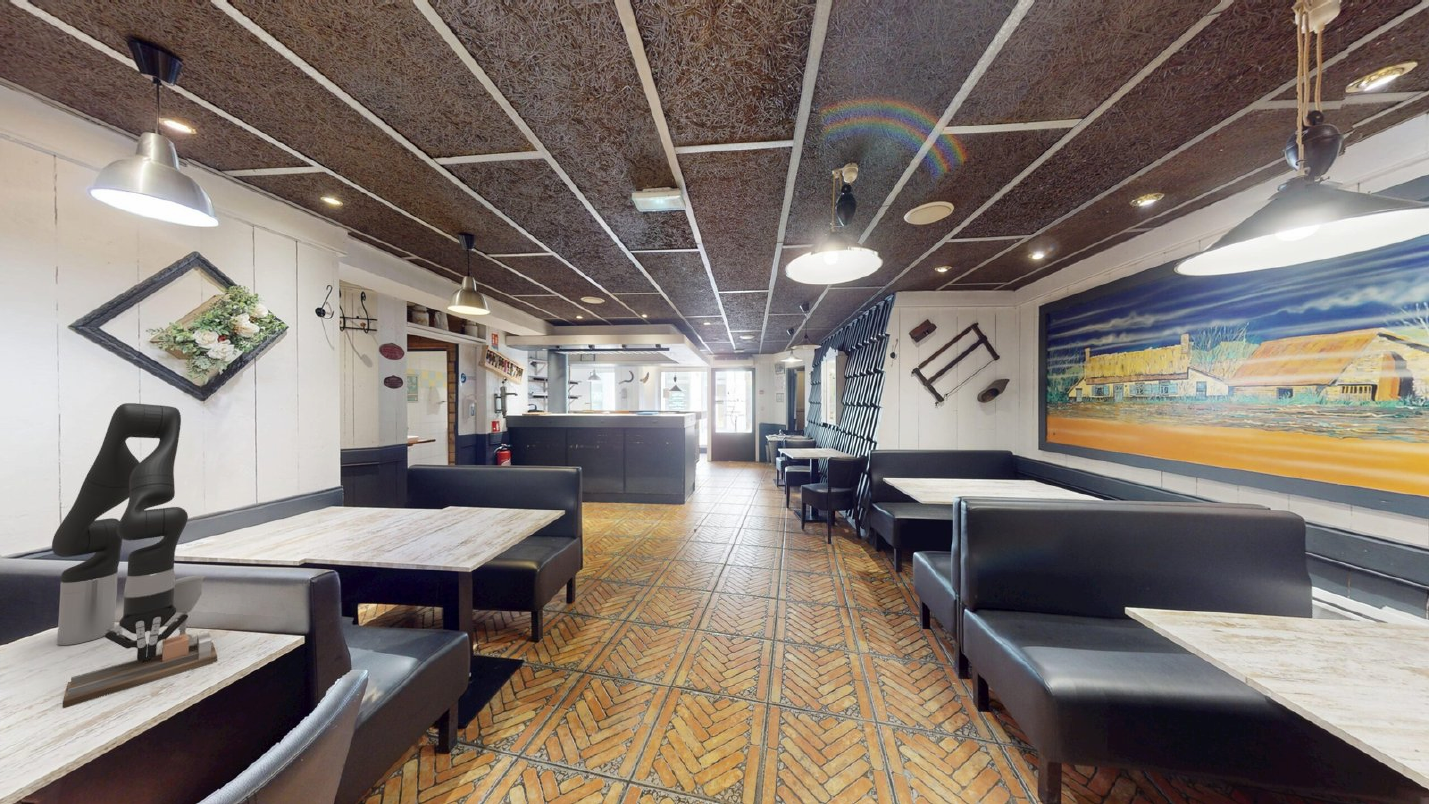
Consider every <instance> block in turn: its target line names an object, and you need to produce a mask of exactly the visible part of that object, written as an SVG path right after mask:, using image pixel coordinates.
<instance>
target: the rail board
mask: <svg viewBox="0 0 1429 804" xmlns="http://www.w3.org/2000/svg"><path fill="white" fill-rule="evenodd" d="M216 661H217V662H218V654H217V650H216V647H215V643H214V642H212V638H211V634H210V631H209V630H205V631H201V632H198V633H197V632H196V643H195V644H192V645H189V651H188V655H186V656H182V657H179V658H175V659H171V660H168V661H164V662H162V652H159V653H156V655H155V657H152V658H151V660H150V661H147V658H146V662H142V660H141V661H138V660H137V659H134V660H130V661H126V662H123V663H119V664H116V665H111V666H108V667H104V668H101V669H97V670H93V671H89V672H86V673H85V672H84V673H82V674H78V675H74V676H71V678H70V681H68V682H67V684H66V687H65V692H64V695H63V699H62V709H65V708H68V707H71V706H75V705H77V704H78V705H79V704H81V703H84V702H85V703H86V702H88V701H92V700H94V699H98V698H101V696H102V697H104V695H105V696H108V695H111V694H114V693H117V692H120V691H121V690H122V691H125V690H128V689H130V688H134V686H135V687H139V686H142V685H144V684H147V683H152V682H154V681H159V680H160V679H164V677H165V678H167V677H171V676H175V675H177V674H182V673H185V672H187V670H188V671H191V670H194V669H198V668H201V667H204V665H205V666H207V664H208V665H211V664H214V663H213V662H215V663H217V662H216ZM210 663H211V664H210ZM197 667H198V668H197ZM190 669H191V670H190ZM184 671H185V672H184ZM122 691H121V692H122ZM107 694H108V695H107Z"/></svg>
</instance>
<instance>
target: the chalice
mask: <svg viewBox="0 0 1429 804" xmlns="http://www.w3.org/2000/svg"><path fill="white" fill-rule="evenodd" d="M205 577H206V576H205V575H201V574H199V575H198V574H197V575H188V576H186V577H185V576H184V577H180V578H175V587H174V607H175V608H176V611H177V612H181V613H184V612H187V613H190V612H192V610H193V609H194V608H195V606H196V604H197V603H198V601H199V600H200V597H201V596H202V588H203V587H202V586H203V580H204V578H205ZM187 621H188V618H187V619H186V620H185V621H184V622H183V623H182V624H181V625H180V626H179V627H178V628H177V630H179V634H178V636H180V635H184V634H187V633H186V630H187V628H188V625H187ZM188 637H189V645H192V644H196V642H197V640H195V638H194V637H193V635H192V634H188Z"/></svg>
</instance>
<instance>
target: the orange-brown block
mask: <svg viewBox="0 0 1429 804" xmlns="http://www.w3.org/2000/svg"><path fill="white" fill-rule="evenodd" d="M188 635H189V634H188V633H186V634H184V635H180V636H179V635H176V636H173V637H168V638H167V639H164V640H162V649H161V653H162V662H164V661H168V660H171V659H175V658H179V657H182V656H186V655H188V651H189V637H188Z"/></svg>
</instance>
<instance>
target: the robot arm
mask: <svg viewBox="0 0 1429 804" xmlns="http://www.w3.org/2000/svg"><path fill="white" fill-rule="evenodd" d="M181 426H182V415H181V413H180V410H179V409H178V408H177V407H174V406H168V405H161V404H160V405H158V404H149V403H147V404H146V403H137V402H136V403H134V402H132V403H131V402H128V403H122V404H120V405H119V406H118V407H116V409H115V410H114V412H113V414H112V416H111V418H110V422H109V423H108V427H107V430H106V433H105V436H104V439H103V442H102V444H101V447H100V449H99V451H98V453H97V456H96V458H95V460H94V462H93V463H92V465H91V467H90V468H89V471H88V472H87V474H86V476H85V478H84V480H83V482H82V485H81V488H80V489H79V492H78V495H77V497H76V499H75V502H74V503H73V505H72V507H71V508H70V510H69V512H68V513H67V514H66V516H65V517H64V519H63V520H62V521H61V523H60V525H59V526H58V527H57V530H56V531H55V533H54V536H53V538H52V540H51V549H52V553H53V554H54V555H55V556H57V557H60V558H69V557H70V558H71V557H78V556H84V555H89V554H93V553H94V554H93V555H92V556H91V557H89V558H88V559H87V560H84V561H82V562H80V563H78V564H76V565H73V566H71V567H69V568H67V569H65V570H63V572H61V575H60V591H59V592H60V593H59V609H58V625H57V626H58V628H57V640H56V642H57V643H56V644H57V645H58V646H71V645H76V644H81V643H86V642H90V641H94V640H97V639H100V638H103V637H104V638H105V639H106V640H110V641H111V642H114V643H115V644H117V645H119V646H121V647H123V648H124V649H127V650H128V649H131V648H132V649H133V648H135V649H137V652H136V654H137V655H136V660H138V661H141V660H142V662H146V658H147V661H150V660H151V658H152V657H155V655H156V654H157V649H158V648H157V647H158V645H157V644H158V643H159V642H161V641H163V640H164V639H168V638H170V636H171V635H172V634H173V633H174V632H175V631H176V630H178V628H179V627H180V625H181V624H182V623H183V622H184V621H185V620H186V619H187V620H188V618H189V614H188V613H189V612H188V613H187V612H184V613H181V612H177V611H176V608H175V607H174V587H175V579H176V573H175V555H176V554H175V553H176V549H177V545H178V542H179V539H180V537H181V536H182V533H183V532H184V529H185V528H186V525H187V523H188V519H189V516H188V513H187V511H186V510H185V509H184V508H182V507H181V506H180V507H179V506H170V507H163V508H162V507H161V508H154V507H158V506H161V505H164V504H168V503H170V502H171V501H172V500H173V499H174V498H175V496H176V495H175V493H176V492H175V491H176V490H175V488H176V487H175V475H174V473H175V460H176V455H177V451H178V447H179V446H178V445H179V438H180V433H181ZM130 438H139V439H141V438H143V439H146V438H147V439H159V442H158V445H157V446H156V448H155V449H154V450H153V451H151V452H150V453H149V455H148V456H146V457H145V458H143V460H141V461H139V460H138V458H136V456H135V455H134V454H133V453H132V452H131V450H130V448H129V447H128V445H127V443H126V441H127V439H130ZM126 500H128V503H127V505H126V508H125V510H124V513H123V514H122V516H121V518H120V520H119V519H117V518H110V517H109V518H103V519H98V518H100V516H102V515H104V514H105V513H107V512H108V511H110V510H112V509H114V508H115V507H117V506H119V505H120V504H122V503H124V502H125V501H126ZM149 508H153V509H149ZM159 537H163V538H161V540H159V541H158V542H157V543H154V544H151V545H148V546H144V547H141V548H138V549H135V550H133V551H131V552H130V553H129V555H128V557H127V573H126V574H127V576H126V579H125V583H124V584H125V585H124V591H123V609H122V610H123V612H122V618H121V619H120V620H119V621H118V622H119V623H118V624H117V625H116V611H117V608H116V607H117V606H116V605H117V591H118V575H119V573H118V572H119V571H118V570H119V565H120V560H121V552H122V544H123V540H125V541H129V542H130V541H139V540H145V539H152V538H159ZM171 619H172V622H171V623H170V624H169V625H168V626H167V627H166V628H165V629H164V631H163V632H161V633H160V634H159V632H160V629H162V627H164V626H165V625H166V624H167V623H168V622H169V621H170V620H171ZM115 625H116V626H115ZM122 629H124V630H125V631H128V632H129V633H131V634H132V635H133V634H134V635H136V639H134V640H133V639H131V638H129V637H127V636H126V635H124V634H123V630H122ZM147 632H150V633H149V639H148V643H147V641H146V640H147V639H146V633H147Z"/></svg>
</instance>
